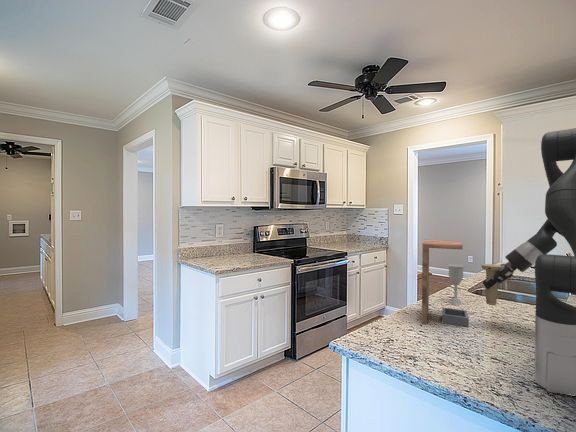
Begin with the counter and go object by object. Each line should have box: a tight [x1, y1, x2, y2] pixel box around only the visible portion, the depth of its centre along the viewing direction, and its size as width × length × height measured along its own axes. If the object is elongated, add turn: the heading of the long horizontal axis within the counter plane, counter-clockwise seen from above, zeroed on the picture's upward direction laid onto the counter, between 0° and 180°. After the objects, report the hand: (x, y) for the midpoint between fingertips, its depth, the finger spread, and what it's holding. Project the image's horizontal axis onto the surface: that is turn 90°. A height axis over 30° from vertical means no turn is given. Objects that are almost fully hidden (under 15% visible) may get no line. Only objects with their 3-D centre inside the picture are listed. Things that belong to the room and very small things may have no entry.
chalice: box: [447, 264, 465, 306], centre depth 148 cm, size 7×7×18 cm
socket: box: [441, 307, 470, 328], centre depth 124 cm, size 10×9×4 cm
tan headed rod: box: [481, 263, 502, 306], centre depth 118 cm, size 5×6×15 cm
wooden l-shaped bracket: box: [421, 239, 463, 325], centre depth 126 cm, size 18×14×32 cm
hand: (485, 285), depth 119 cm, fingers closed on tan headed rod, 3 cm apart
